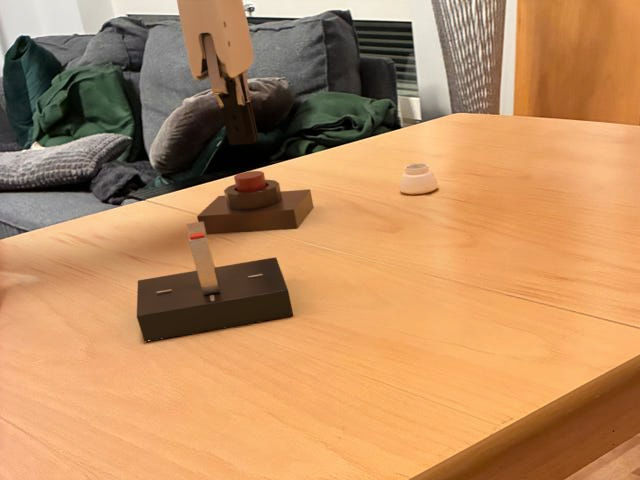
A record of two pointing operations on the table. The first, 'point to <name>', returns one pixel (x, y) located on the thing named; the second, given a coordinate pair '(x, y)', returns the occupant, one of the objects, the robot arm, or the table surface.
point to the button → (250, 181)
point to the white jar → (418, 179)
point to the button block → (256, 210)
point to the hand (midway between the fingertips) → (244, 142)
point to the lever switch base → (212, 300)
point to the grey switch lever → (203, 258)
